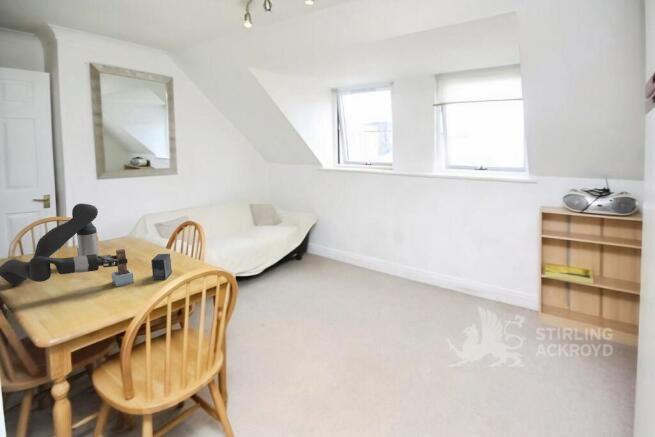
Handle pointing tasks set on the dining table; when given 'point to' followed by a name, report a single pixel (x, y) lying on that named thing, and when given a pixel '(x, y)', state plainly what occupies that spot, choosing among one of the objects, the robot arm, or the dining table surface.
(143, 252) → the dining table surface
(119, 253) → the tall wooden pillar
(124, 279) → the pale blue storage bin
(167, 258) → the small box
